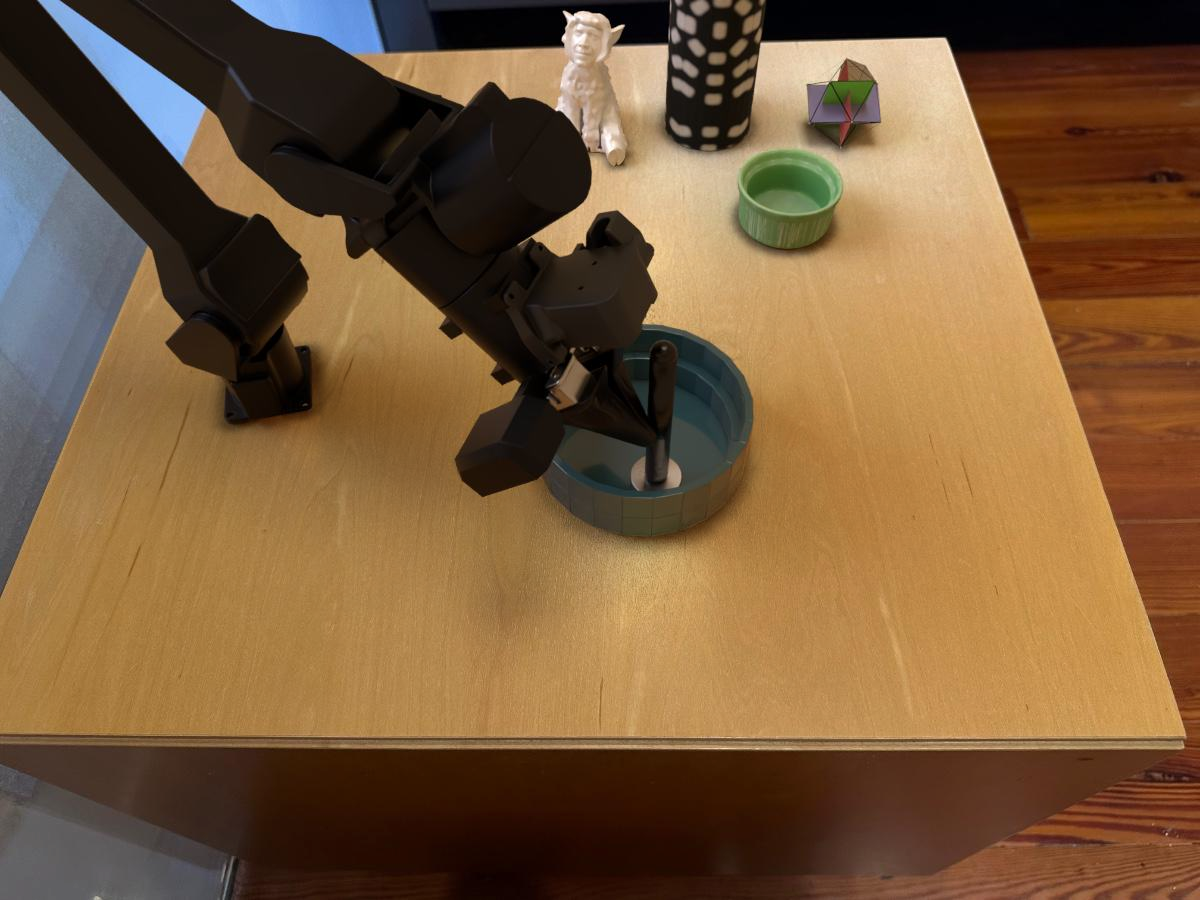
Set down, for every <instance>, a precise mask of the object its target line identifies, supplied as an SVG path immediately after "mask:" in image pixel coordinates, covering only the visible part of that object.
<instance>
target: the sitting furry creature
mask: <svg viewBox="0 0 1200 900" xmlns="http://www.w3.org/2000/svg"><path fill="white" fill-rule="evenodd" d="M562 13H563V15H564V17H565V19H566V22H567V24H566V26H565V27H564V30H565V33H564V34H563V35H562V36H561V42H562V43H563V44H564V55H565V57H567V59H568V62H567V64H566V66H564V67H563V72H562V74H561V78H560V80H561V82H560V85H559V93H560V94H561V95H560V96H558V99H557V106H556V107H555V108H554V110H556V111H558V110H559V111H562V112H563V113H564V114H565V115H566V116H567V117H568V118H569V119H570V120H571V122H572V123H573V125H574V126H575V127H576V129H577V130H578V132H579V133H580V135H581V134H582V135H581V137H582V139H583V141H584V143H585V145H586V148H587V151H588V152H589V150H590V153H602V154H605V156H606V158H607V160H608V162H609V164H610V165H611V166H612V167H615V166H616V165H617V166H620V165H621V164H622V163H623V161H624V160H625V158H626V154H627V153H626V149H627V148H628V141H627V140H626V135H625V133H624V129H623V127H622V119H621V117H620V115H621V110H620V109H621V108H620V105H619V103H618V99H617V94H616V92H615V90H614V86H613V84H612V82H611V80H612V77H611V75H610V73H609V69H610V68H609V66H608V65H606V64H605V61H606V60H608V59H610V55H611V54H612V50H613V49H612V48H613V45H615V44H616V43H617V42H618V41H619V39H620V37H621V35H622V32H623V30H624V29H625V26H626V24H620V25H617V26H616V27H613V28H612V25H611V24H610V20H609V19H608V18H607V17H606V16H605V15H604V14H602V13H595V12H594V13H593V12H590V11H585V10H582V11H577V12H575V13H574V14H571V13H570V12H568V11H566V10H562Z"/></svg>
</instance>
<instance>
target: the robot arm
mask: <svg viewBox="0 0 1200 900" xmlns="http://www.w3.org/2000/svg"><path fill="white" fill-rule="evenodd" d="M59 1H60V2H61V3H62V4H64V5H65V6H67V7H68V8H70V9H71V10H72V11H74V12H75V13H76V14H78V15H79V16H81V17H82V18H84V19H85V20H86V21H88V22H89V23H90V24H91V25H93V26H95V27H96V28H97V29H99V31H102V32H103V33H104V34H106V35H107V36H108V37H110V38H111V39H113V40H114V41H115V42H117V43H118V44H120V45H121V46H122V47H123V48H125V49H127V50H128V51H130V52H131V53H132V54H134V55H135V56H136V57H138V58H139V59H140V60H142V61H143V62H145V64H147V65H149V66H150V67H152V69H154V70H156V71H157V72H158V73H160V74H161V75H162V76H164V77H165V78H166V79H169V81H171V82H172V83H173V84H176V85H177V86H178V87H180V88H181V89H182V90H184V91H185V92H186V93H188V94H189V95H190V96H192V97H193V98H195V99H196V100H197V101H199V102H200V103H201V104H202V105H203V106H205V107H206V108H207V109H208V111H210V112H211V113H213V114H214V115H215V117H217V118H218V121H219V123H220V125H221V127H222V129H223V131H224V134H225V136H226V137H227V140H228V141H229V143H230V145H231V146H230V147H232V150H233V152H234V154H235V156H236V157H237V158H238V160H239V161H240V162H241V163H242V164H244V165H245V166H246V167H247V168H248V169H250V171H252V172H253V173H254V174H255V175H256V176H258V177H259V178H260V179H261V180H262V181H263V182H265V183H266V184H267V185H268V186H269V187H271V188H272V190H273V191H275V193H277V195H278V196H279V197H280V198H281V199H282V200H283V201H285V202H286V203H288V204H289V205H290V206H292V207H293V208H296V209H297V210H299V211H302V212H304V213H306V214H308V215H311V216H313V217H316V218H320V219H321V218H324V217H325V216H337V217H341V219H342V222H343V225H344V229H345V238H344V239H345V240H344V242H345V243H344V244H345V247H346V249H345V250H346V254H347V256H348V257H349V258H351V259H352V260H358V259H360V258H361V257H363V256H364V255H365V254H366V253H367V252H369V251H370V250H373V251H374V252H375V253H376V255H378V256H379V257H380V258H381V259H382V260H384V262H386V263H387V265H389V266H391V268H392V269H393V270H394V271H395V272H396V273H398V274H399V275H400V276H401V277H402V278H403V279H404V280H405V281H406V282H407V283H409V284H410V285H411V286H412V288H414V289H415V290H416V291H417V292H419V294H421V295H422V296H423V297H424V298H425V299H426V300H427V301H429V302H430V303H431V304H432V305H433V306H434V307H435V308H436V309H437V310H438V311H439V312H440V313H442V315H444V316H445V318H444V319H443V321H442V323H440V325H439V327H438V329H439V331H441V332H442V333H443V334H444V335H445V336H446V337H448V338H449V339H450V340H451V341H453V340H454V339H457V338H458V337H460V336H461V335H463V334H465V336H466V337H468V339H470V340H471V341H472V342H473V343H474V344H475V345H476V346H478V347H479V349H481V350H482V351H483V353H485V354H486V355H488V357H489V358H490V359H492V360H493V361H494V363H496V364H495V366H494V367H493V369H492V371H491V372H490V373H489V375H490V376H491V377H492V378H493V379H494V380H495V381H497V383H498V384H499V385H500V386H505V385H507V384H509V383H512V382H513V381H516V382H517V383H518V384H519V386H518V388H517V389H516V392H515V393H514V395H513V397H512V399H511V400H510V401H507V402H505V403H503V404H501V405H498V406H496V407H493V408H491V409H490V410H487V411H485V412H483V413H480V414H479V415H478V417H477V419H476V420H475V422H474V424H473V425H472V427H471V430H470V431H469V432H468V435H467V436H466V438H465V440H464V441H463V443H462V445H461V446H460V449H459V450H458V452H457V453H456V456H454V463H455V468H456V473H457V474H458V476H459V479H460V481H461V482H462V483H464V484H465V485H466V486H468V487H469V488H470V489H471V490H472V491H474V493H476V494H477V495H479V496H480V497H481V498H485V497H490V496H492V495H495V494H497V493H498V494H499V493H501V492H503V491H507V490H510V489H513V488H517V487H520V486H523V485H526V484H529V483H532V482H535V481H538V480H539V479H540V478H541V477H542V475H543V474H544V473H545V472H546V471H547V470H548V468H549V466H550V464H551V462H552V460H553V458H554V456H555V454H556V452H557V450H558V448H559V446H560V444H561V442H562V440H563V438H564V436H565V434H566V432H565V427H564V425H567V426H572V427H577V428H581V429H585V430H588V431H593V432H595V433H598V434H602V435H605V436H608V437H611V438H614V439H618V440H621V441H624V442H627V443H630V444H634V445H637V446H640V447H648V446H651V445H654V443H655V441H656V438H657V436H656V433H655V431H654V429H653V427H652V425H651V423H650V421H649V419H648V416H647V414H646V412H645V410H644V408H643V406H642V404H641V402H640V399H639V397H638V395H637V393H636V392H635V389H634V387H633V384H632V382H631V380H630V377H629V375H628V372H627V369H626V367H625V364H624V361H623V351H624V347H625V346H627V345H629V344H631V343H632V342H634V341H635V340H636V339H637V338H638V336H639V335H640V333H641V331H642V324H644V321H645V319H646V316H647V314H648V312H649V310H650V308H651V306H652V304H655V303H656V301H657V299H658V295H659V292H658V290H657V287H656V285H655V284H654V281H653V279H652V277H651V275H650V272H649V271H648V268H649V266H650V265H651V262H652V260H653V257H654V256H655V247H654V245H652V243H650V242H647V241H646V238H645V237H644V235H643V233H642V231H641V230H640V229H639V228H638V227H637V226H636V225H635V224H634V223H633V222H632V221H630V219H629V218H628V217H626V216H625V215H624V214H623V213H622V212H621V211H619V210H618V209H616V210H609V211H603V212H599V213H597V214H596V215H595V217H594V218H593V221H592V222H591V224H590V226H589V228H588V229H587V232H586V234H585V243H584V242H578V243H577V244H576V245H575V247H574V249H573V250H572V252H571V253H570V254H567V255H562V256H559V255H558V254H556V253H554V252H552V250H550V249H549V248H548V247H547V246H546V244H544V243H543V242H542V241H536V239H534V238H533V236H534V235H536V234H537V233H539V232H541V231H542V230H544V229H545V228H547V227H549V226H551V225H553V224H554V223H555V222H557V221H559V220H560V219H562V218H563V217H565V216H567V215H568V214H570V213H572V212H574V211H575V210H577V209H578V208H579V207H580V206H582V204H584V202H585V201H586V200H587V198H588V196H589V194H590V191H591V188H592V182H593V181H592V179H593V168H592V162H591V157H590V154H589V150H588V151H587V148H586V145H585V143H584V141H583V139H582V135H580V133H579V132H578V130H577V129H576V127H575V126H574V125H573V123H572V122H571V120H570V119H569V118H568V117H567V116H566V115H565V114H564V113H563V112H562V111H559V110H558V111H556V110H555V108H553V107H552V106H550V105H549V104H547V103H546V102H543V101H540V100H538V99H536V98H531V97H525V96H521V97H515V98H513V97H512V98H509V97H508V95H507V94H505V92H504V91H503V90H502V89H501V88H500V87H499V85H498V84H497V83H496V82H494V81H491V80H490V81H488V82H487V83H485V84H484V85H483V86H482V87H480V88H479V90H478V91H476V92H475V94H474V95H473V96H472V97H471V99H470V100H469V101H468V102H467V103H466V105H463V104H461V103H458V102H457V101H453V100H451V99H448V98H445V97H443V95H441V94H437V93H432V92H429V91H426V90H424V89H421V88H419V87H416V86H413V85H411V84H408V83H405V82H403V81H400V80H398V79H395V78H392V77H390V76H387V75H384V74H383V73H382V72H380V71H378V69H376V68H374V67H373V66H371V65H370V64H367V63H366V62H364V61H363V60H361V59H359V58H358V57H355V56H354V55H352V54H350V53H349V52H348V51H346V50H344V49H342V48H341V47H339V46H338V45H335V44H333V43H332V42H330V41H328V40H327V39H325V38H323V37H321V36H318V35H313V34H309V33H303V32H298V31H294V30H289V29H283V28H278V27H274V26H271V25H269V24H267V23H266V22H264V21H262V20H260V19H259V18H257V17H255V16H254V15H253V14H251V13H250V12H248V11H247V10H245V9H244V8H243V7H241V6H240V5H239V4H237V3H236V2H234V1H233V0H59ZM0 92H1V93H2V94H3V95H4V97H6V98H7V99H8V101H9V102H10V103H11V104H12V105H13V106H14V107H15V108H16V109H17V110H18V111H19V112H20V113H21V114H22V115H23V116H24V117H25V118H26V119H27V120H28V122H29V123H30V124H31V125H32V126H34V128H36V129H35V130H37V131H38V132H39V133H40V135H42V136H43V137H44V138H45V140H46V141H48V142H49V144H50V145H51V146H53V148H54V149H55V150H56V151H57V152H58V153H59V154H60V155H61V156H62V157H63V158H64V159H65V160H66V161H67V162H68V163H69V164H70V166H71V167H72V168H73V169H74V170H75V171H76V172H77V173H78V174H79V175H80V177H82V178H83V180H85V181H86V182H87V183H88V185H90V186H91V188H92V189H93V190H95V192H96V193H97V194H98V195H99V196H100V197H101V198H102V199H103V200H104V201H105V202H106V203H107V204H108V205H109V207H110V208H112V210H113V211H115V212H116V214H117V215H118V216H119V217H120V218H121V219H122V220H123V221H124V222H125V223H126V224H127V225H128V226H129V227H130V228H131V229H132V230H133V232H134V233H135V234H136V235H137V236H138V237H139V238H140V239H141V240H142V241H143V242H144V244H146V245H147V246H148V248H149V249H150V250H151V253H152V256H153V260H154V261H153V262H154V265H155V269H156V273H157V278H158V281H159V285H160V290H161V293H162V296H163V298H164V300H165V301H166V302H167V304H168V305H169V306H170V307H171V309H173V311H174V312H175V313H176V314H177V315H178V317H179V318H180V319H181V320H182V323H181V324H180V325H179V327H177V329H176V330H175V331H174V332H173V333H172V334H171V335H170V336H169V337H168V338H167V339H166V341H164V343H165V345H166V347H167V348H168V349H169V350H170V351H171V352H172V353H173V354H174V355H175V357H176V358H177V359H178V360H179V361H180V362H181V363H182V364H183V365H185V366H189V367H191V368H194V369H197V370H199V371H203V372H207V373H209V374H212V375H215V376H218V377H220V378H222V380H223V382H224V384H225V388H224V389H225V391H224V411H223V412H224V413H223V417H224V420H225V421H226V422H227V423H228V424H237V423H242V422H243V423H245V422H248V421H253V420H254V421H255V420H262V419H268V418H274V417H280V416H286V415H292V414H293V415H294V414H299V413H306V412H309V411H310V410H311V409H313V372H312V371H313V369H312V365H313V364H312V350H311V348H310V346H309V345H298V346H294V343H293V341H292V338H291V336H290V333H289V331H288V329H287V326H286V324H285V321H286V320H287V319H288V318H289V316H290V315H291V314H292V313H293V312H294V311H295V309H296V308H297V307H299V305H300V304H301V303H302V301H303V300H304V298H306V296H307V294H308V292H309V284H308V281H309V280H310V276H309V273H308V271H307V269H306V267H305V266H304V264H303V263H302V260H301V259H302V258H303V255H302V254H301V253H300V252H298V251H297V250H295V249H294V248H293V247H292V246H291V245H290V244H289V243H288V242H287V241H286V240H285V239H284V238H283V236H282V235H281V234H280V233H279V231H278V230H277V228H276V227H275V225H274V224H273V222H272V221H271V219H270V218H268V217H266V216H264V215H262V214H261V213H256V212H255V213H254V214H252V215H250V216H247V215H245V214H241V213H239V212H237V211H234V210H231V209H228V208H225V207H223V206H220V205H218V204H217V203H216V202H214V201H213V200H212V199H211V198H210V196H208V194H207V193H206V192H205V190H204V189H202V187H201V186H200V185H199V184H198V183H197V181H195V180H194V179H195V178H193V177H192V176H191V175H190V173H189V172H188V171H187V170H186V169H185V168H184V167H183V165H182V164H181V163H180V162H179V161H178V160H177V158H175V156H174V155H173V153H171V152H170V151H169V149H168V148H167V147H166V146H165V145H164V144H163V142H162V141H161V140H160V139H159V138H158V136H156V135H155V133H154V131H152V130H151V128H150V127H149V126H148V125H147V124H146V123H145V122H144V121H143V119H142V118H141V117H140V116H139V115H138V114H137V113H136V112H135V110H134V109H133V108H132V107H131V105H129V103H128V102H127V101H126V100H125V99H124V98H123V96H122V95H121V94H120V93H119V92H118V91H117V90H116V88H115V87H114V86H113V85H112V84H111V82H110V81H109V80H108V79H107V78H106V77H105V76H104V74H103V73H102V72H101V71H100V69H98V67H97V66H96V65H95V64H94V63H93V61H91V59H90V58H89V57H88V56H87V55H86V54H85V53H84V51H83V50H82V49H81V47H79V45H77V43H76V42H75V41H74V40H73V39H72V38H71V37H70V35H69V33H67V31H66V30H65V29H64V28H63V27H62V26H61V25H60V24H59V22H58V21H56V19H55V18H54V16H53V15H52V14H50V12H49V11H48V10H47V8H45V6H44V5H43V4H42V3H41V2H40V1H39V0H0Z"/></svg>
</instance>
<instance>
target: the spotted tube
mask: <svg viewBox="0 0 1200 900" xmlns="http://www.w3.org/2000/svg"><path fill="white" fill-rule="evenodd" d="M766 6H767V0H669V21H668V41H667V61H666V62H667V63H666V82H665V83H666V84H665V85H666V86H665V103H664V105H665V106H664V129H665V132H666V133H667V135H668V136H669V138H671V139H672V140H673V141H674V142H676V143H677V144H680V145H681V146H683V147H686V148H689V149H691V150H697V151H707V152H709V151H711V152H712V151H721V150H725V149H728V148H731V147H733V146H735V145H736V146H737V145H738V144H739V143H741V142H742V141H743V140H745V138H746V137H747V135H748V133H749V131H750V125H751V117H752V109H753V103H754V96H755V88H756V81H757V73H758V65H759V59H760V50H761V44H762V38H763V37H762V35H763V30H764V22H765V13H766Z"/></svg>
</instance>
